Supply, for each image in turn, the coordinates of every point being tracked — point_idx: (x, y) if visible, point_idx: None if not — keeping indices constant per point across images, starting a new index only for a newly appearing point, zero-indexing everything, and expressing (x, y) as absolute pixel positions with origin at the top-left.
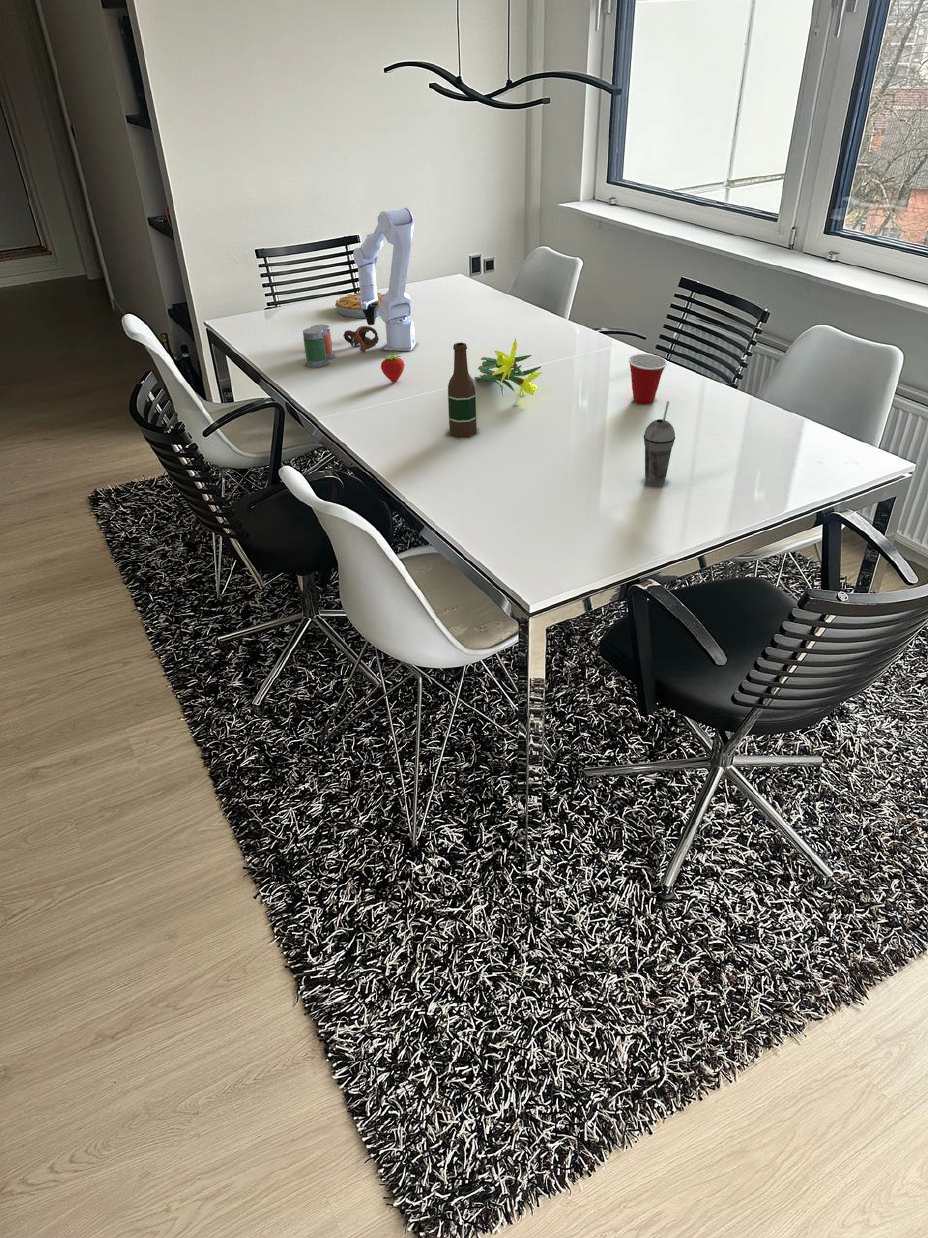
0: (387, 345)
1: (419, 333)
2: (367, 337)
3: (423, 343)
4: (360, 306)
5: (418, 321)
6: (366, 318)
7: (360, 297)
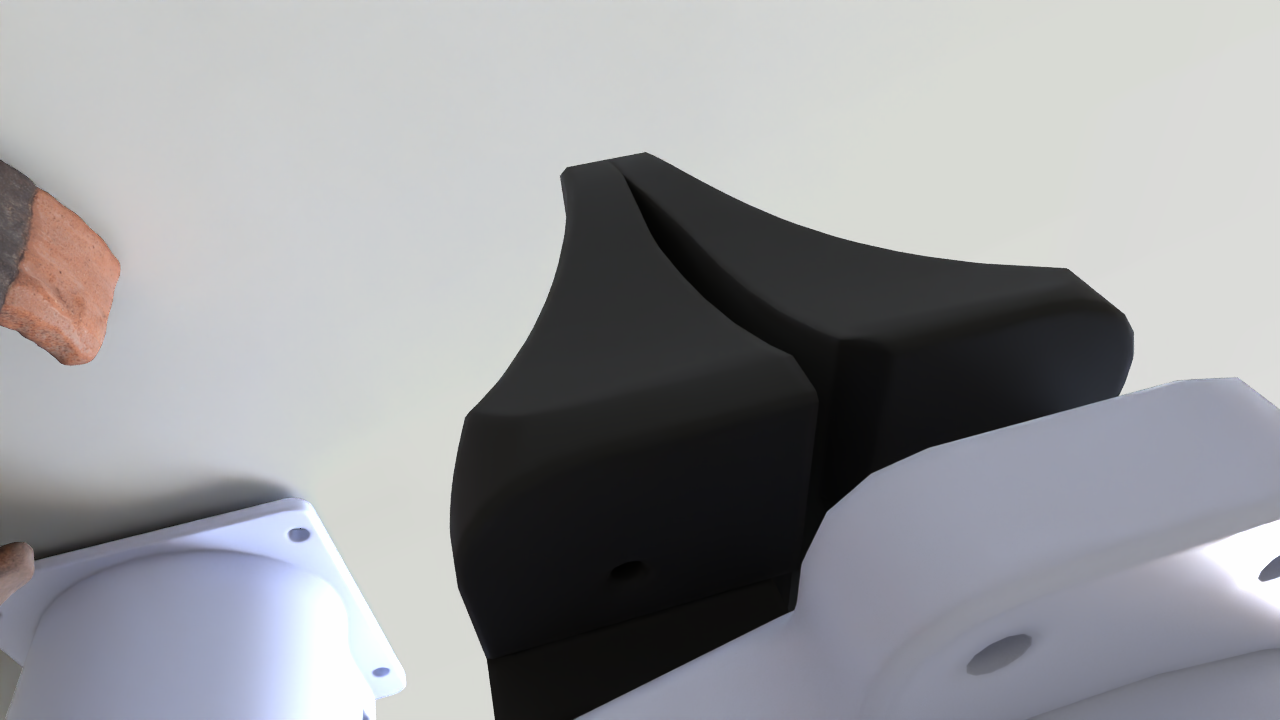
0: (51, 613)
1: None
2: (29, 335)
3: (447, 699)
4: (497, 442)
5: (1141, 378)
6: (566, 240)
7: (1080, 674)
